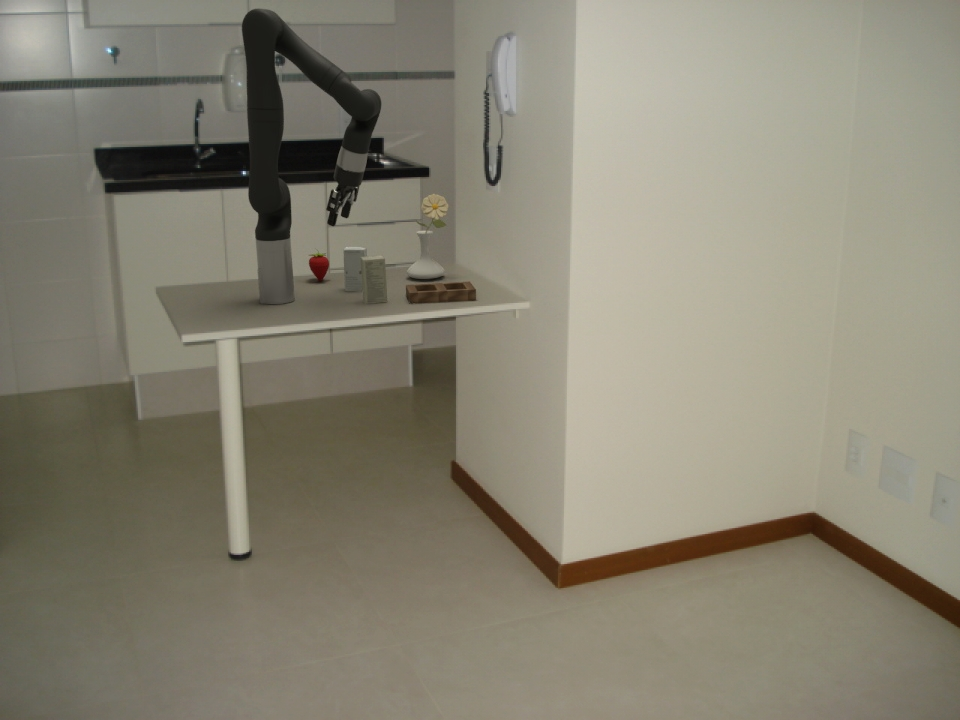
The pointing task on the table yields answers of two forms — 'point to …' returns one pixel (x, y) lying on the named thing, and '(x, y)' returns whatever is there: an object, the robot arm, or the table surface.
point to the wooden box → (440, 292)
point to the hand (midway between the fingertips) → (337, 221)
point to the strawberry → (319, 265)
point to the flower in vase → (425, 264)
